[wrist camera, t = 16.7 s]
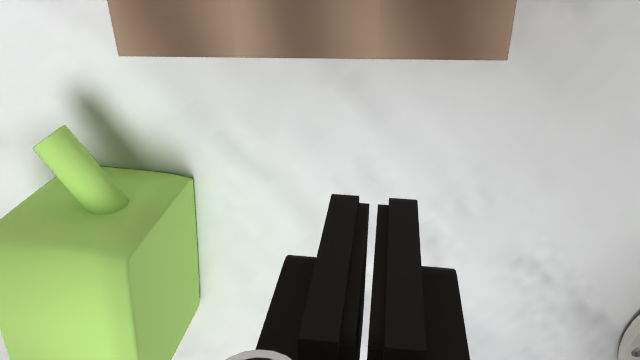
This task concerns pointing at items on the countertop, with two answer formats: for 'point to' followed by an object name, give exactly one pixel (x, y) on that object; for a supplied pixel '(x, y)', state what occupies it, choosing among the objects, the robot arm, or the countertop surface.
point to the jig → (314, 28)
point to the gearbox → (98, 261)
